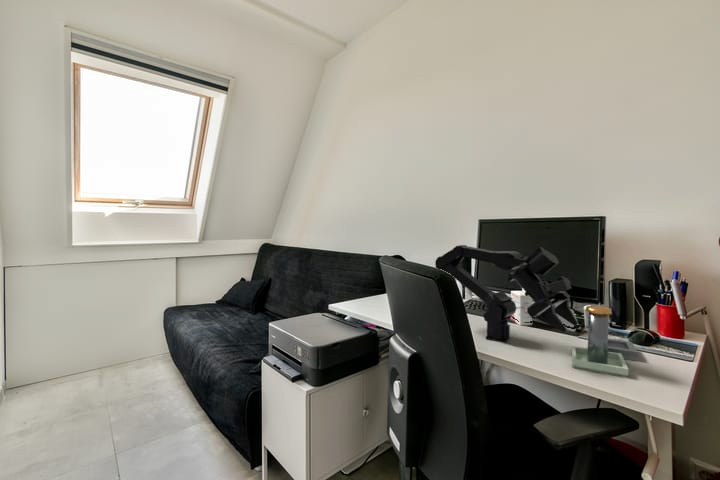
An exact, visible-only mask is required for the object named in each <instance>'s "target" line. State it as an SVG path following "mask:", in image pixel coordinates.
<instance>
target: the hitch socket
mask: <svg viewBox="0 0 720 480" xmlns="http://www.w3.org/2000/svg"><path fill="white" fill-rule="evenodd" d="M608 352H614V353H621V354H622V356H623V359H624V360H626V361H628V360H629V361H636V362H638V355H639V354H638V351H637V349H636V347H635V345H634V344H633V341H626V340H620V339H613V338H608Z"/></svg>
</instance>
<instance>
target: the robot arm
mask: <svg viewBox="0 0 720 480" xmlns="http://www.w3.org/2000/svg"><path fill="white" fill-rule="evenodd" d="M464 258H468V259H472V260H476V261H482V262H486V263H489V264H492V265H493V266H495V267H496V268H499V269H501V270H503V271H512V270H515V271H514V272H509V273H507V282H509V283H510V282H514V281H516V282H517V284H518V285H519V286H520V287H521V289H522V288H523V289H524V290H525V293H524V294H525V295H526V296H528V295H529V296H530V297H531V298H532V299H533V300H532V305H531V306H529V307H528V308H527V313H528V314H529V315H530V316H531V317H535V316H536V315H537V314H538V316H537V317H535V319H538V320H541V321H543V322H545V323H547V324H549V325H548V326H551V327H553V328H555V329H557V330H559V331H560V332H562V333H565V332H567V331H568V330H567V329H566V328H565V326H564V325H563V323H562V322H561V320H560V319H559V318H558V316H557V315H556V314H558V315H559V316H561V317H562V318H564V319H565V320H567V321H568V322H570V323H571V324H573V325H577V324H579V322H578V320H577V321H576V319H577V318H576V319H575V317H574V315H573V313H572V311H571V308H570V301H571V298H570V297H571V295H570V294H568V292H567V291H568V290H572V289H573V287H572V286H571V280H569V278H568V277H567V278H566V277H565V276H563V275H562V276H559V277H556V279H555V281H553V282H550V283H549V282H548V281H547V280H543V281H542V279H541V278H540V277H539V276H538V275H540V276H544V275H546V274H547V273H548V272H549V271H551V270H552V269H554V268H555V267H556V266H557V265H558V264H560V262H559V259H558V257H556V255H555V254H553V253H551V252H549V251H548V250H546V249H545V248H543V246H541V247H537V249H535V251H534V252H533V253H531V255H530V256H525V255H522V254H521V253H520V252H518V251H515V250H514V251H511V250H509V251H508V250H507V251H505V250H504V251H502V250H501V251H494V250H489V249H485V248H479V247H473V246H470V245H469V246H468V245H466V244H461V245H460V244H459V245H456V246H454V248H451V250H449V251H448V252H446V253H444V254H442V255H441V256H438V257H437V258H436V259H435V268H438V269H442V270H444V271H446V272H448V273H450V274H451V275H452V276H454V277H453V278H454V279H455V280H456V281H458V282H459V283H460V284H461V285H463V286H464V287H465V288H466V289H468V291H470V292H471V293H472V294H474V295H475V296H476V297H478V299H480V300H481V301H482V302H483V303H484V305H485V308H486V309H487V311H485V313H484V314H482V316H483V318H484V319H483V320H484V321H485V322H486V336H485V339H486V340H491V341H496V342H497V341H498V342H503V343H507V342H508V340H510V337H511V325H510V324H509V320H511V316H512V315H513V314H514V313H515V311H516V304H515V303H514V301H513V300H511V299H513V298H511V296H509V295H507V294H506V293H505V291H503V290H500V291H498V292H495V291H493V290H492V289H491V288H489V287H488V286H487V285H485V284H484V283H482V282H481V281H480V280H478V279H477V278H476V277H475V276H473V275H472V274H471V273H469V272H468V271H467V270H465V268H463V266H462V264H461V262H462V261H463V260H464ZM521 266H524V267H521ZM452 276H451V277H452ZM555 313H556V314H555ZM577 322H578V323H577ZM547 324H546V325H547Z"/></svg>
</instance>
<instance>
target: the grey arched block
mask: <svg viewBox="0 0 720 480" xmlns="http://www.w3.org/2000/svg"><path fill="white" fill-rule="evenodd" d="M570 309H571V308H570ZM571 311H572V313H573V315H574V317H575V319H576V321H577V323H578V324H577V325H580V324H579V322H578V319H577V316H576V314H575V311H574V310H573V309H571ZM555 314H556V313H555ZM556 315H557V316H558V318H559V319H560V320H561V322H562V323H563V324H565V325H567V326H570V327H574V325H573V324H571V323H570V322H568V321H567V320H565V319H564V318H562V317H561V316H559V315H558V314H556ZM537 316H538V314H537V315H536V316H535V317H537ZM533 321H534V322H537V323H541V324H545V325H548V326H550V325H549V324H547V323H545V322H543V321H541V320H538V319H534V318H532V322H533ZM565 328H566V329H567V331H569V332H576V331H577V330H582V327H579V328H575V329H571V328H567V327H565Z"/></svg>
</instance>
